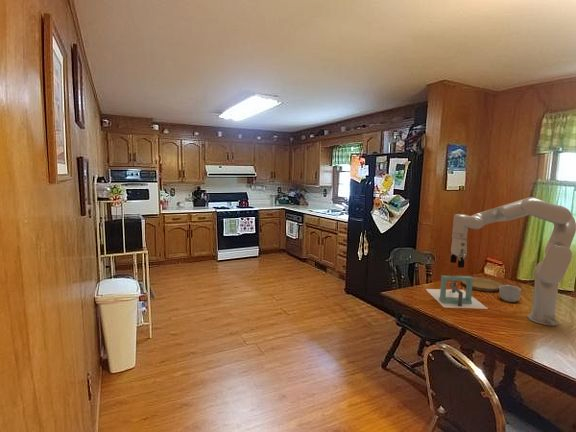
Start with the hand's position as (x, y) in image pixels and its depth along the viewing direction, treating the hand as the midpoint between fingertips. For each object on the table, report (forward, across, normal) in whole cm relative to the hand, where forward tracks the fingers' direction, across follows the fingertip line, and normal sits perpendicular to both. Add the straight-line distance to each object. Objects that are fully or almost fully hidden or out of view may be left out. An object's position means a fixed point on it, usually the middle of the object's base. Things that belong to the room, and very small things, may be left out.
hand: (456, 264), depth 189 cm
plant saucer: (+24, +33, -32) cm, 51 cm away
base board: (+24, +6, -3) cm, 24 cm away
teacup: (+23, +10, -37) cm, 45 cm away
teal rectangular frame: (+22, 0, -1) cm, 22 cm away
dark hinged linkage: (+22, +5, -4) cm, 23 cm away
